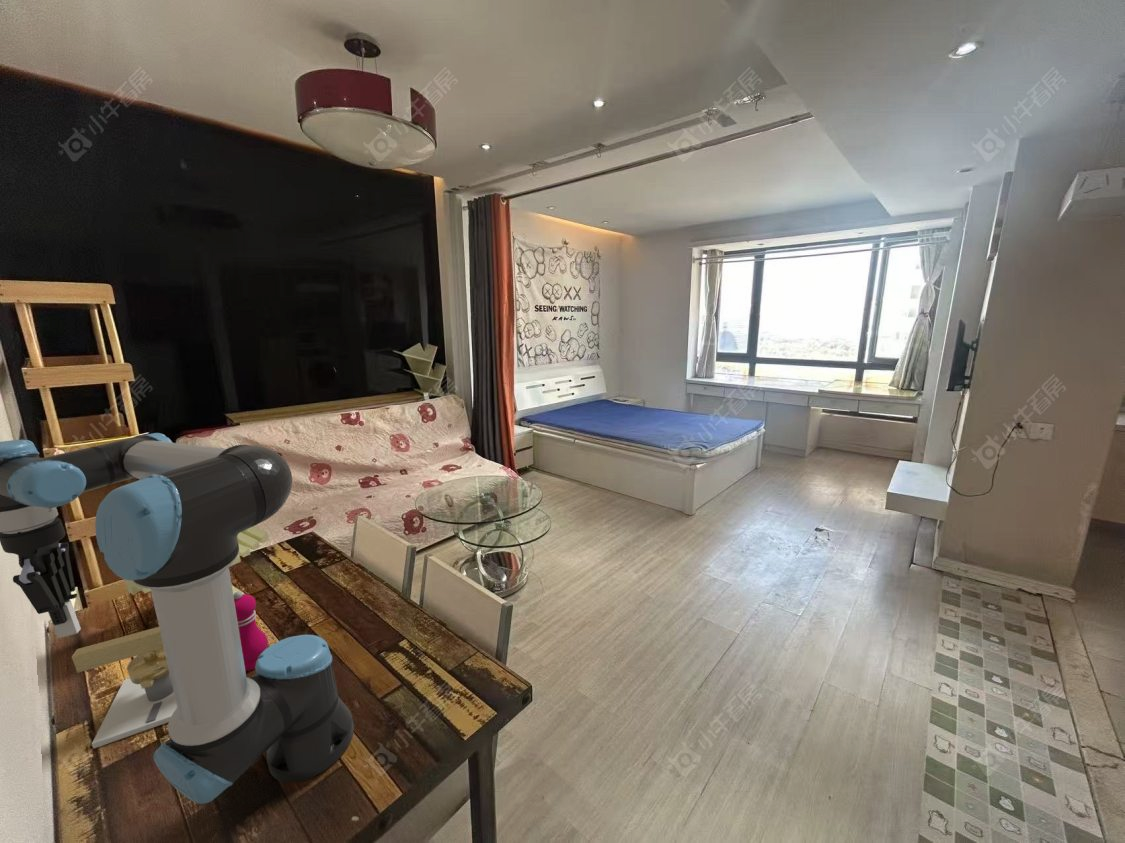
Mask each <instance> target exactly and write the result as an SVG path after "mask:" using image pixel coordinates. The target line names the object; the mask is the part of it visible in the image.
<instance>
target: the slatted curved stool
mask: <svg viewBox="0 0 1125 843" xmlns="http://www.w3.org/2000/svg"><path fill="white" fill-rule="evenodd" d="M237 537H238V545H239V555H238V557H237V558H236V560H235V561H234V562H233V563H232V564H231V565H230V566H229V568H230V567H232V566H235V565H236V564H239V563H241V562H242V560H241V557H242V558H245V557H248V556H250V555H251V550H252V551H254V550H256V549H259V548H261V546H260V543H262V544H264V543H266V542H268V541H270V538H269V534H268V531H265V530H264V529H262V528H259V527H257V526H256V525H255V526H253V527H251V528H249V529H247V530H244V531H242V532H240V533H238V535H237ZM123 581H124V584H125V588H126V591H128V593H130V594H131V595H132V596H134V595H136V594H138V593H139V592H143V594H147V593H149V592H150V593H151V589H146V588H143V587H140V586H137V585H136V584H135V583H134V582H133V581H132V580H125V579H123ZM232 590H233V595H234V593H235V592H238V591H240V592H242V594H245V593H244V592H243V591H241V590H240V589H239V588H237V587H236V586H234V585H233V584H232Z"/></svg>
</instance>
